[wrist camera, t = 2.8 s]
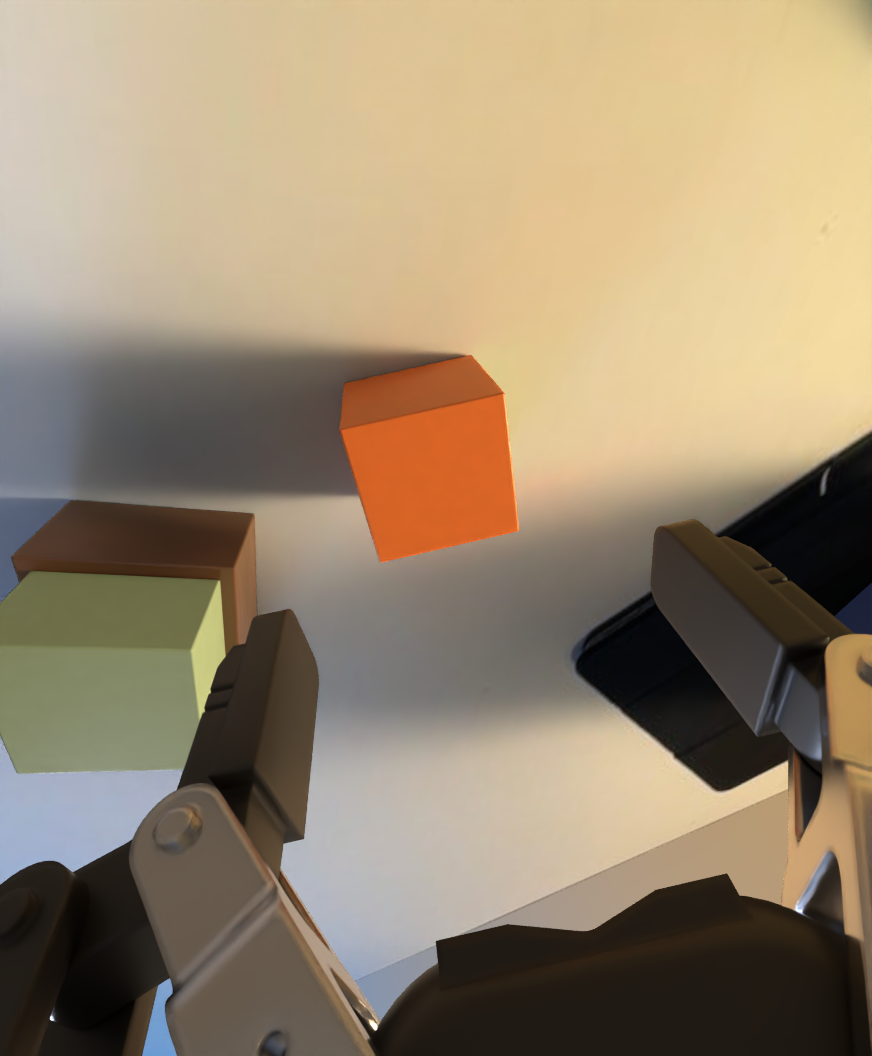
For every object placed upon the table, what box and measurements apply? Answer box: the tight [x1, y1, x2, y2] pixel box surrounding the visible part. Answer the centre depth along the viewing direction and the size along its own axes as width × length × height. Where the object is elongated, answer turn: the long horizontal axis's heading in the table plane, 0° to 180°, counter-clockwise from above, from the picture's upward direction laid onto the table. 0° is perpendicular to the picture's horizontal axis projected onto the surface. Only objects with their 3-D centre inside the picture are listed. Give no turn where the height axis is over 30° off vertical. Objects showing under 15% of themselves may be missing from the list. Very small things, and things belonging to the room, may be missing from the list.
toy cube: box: [339, 355, 519, 562], centre depth 18 cm, size 5×5×5 cm
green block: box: [0, 571, 226, 774], centre depth 17 cm, size 6×6×4 cm
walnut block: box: [11, 500, 257, 655], centre depth 20 cm, size 7×7×4 cm
